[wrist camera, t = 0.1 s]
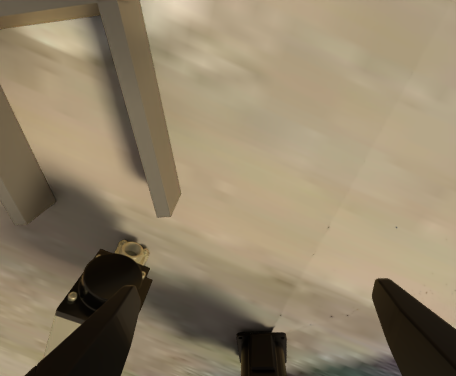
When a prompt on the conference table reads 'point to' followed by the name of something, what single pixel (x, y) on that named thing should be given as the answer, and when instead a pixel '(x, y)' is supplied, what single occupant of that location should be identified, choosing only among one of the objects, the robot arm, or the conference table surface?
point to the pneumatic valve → (100, 288)
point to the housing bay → (132, 92)
